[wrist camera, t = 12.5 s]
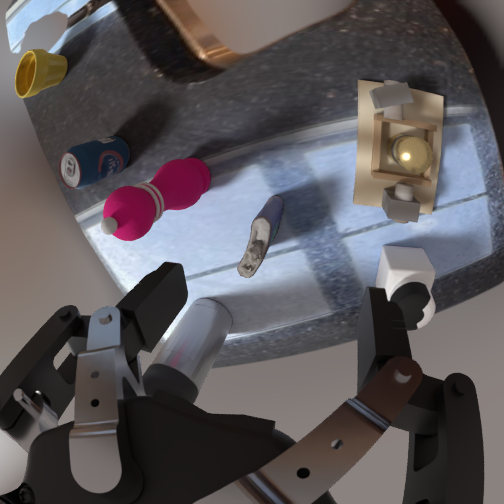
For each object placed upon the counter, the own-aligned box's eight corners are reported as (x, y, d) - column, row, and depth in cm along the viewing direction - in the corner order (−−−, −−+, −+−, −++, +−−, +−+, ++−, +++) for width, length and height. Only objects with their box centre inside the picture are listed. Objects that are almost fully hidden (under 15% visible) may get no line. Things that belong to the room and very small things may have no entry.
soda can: (128, 177, 43) (80, 199, 33) (103, 164, 44) (55, 183, 34) (136, 141, 40) (84, 156, 30) (109, 130, 40) (58, 143, 30)
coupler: (419, 154, 29) (439, 162, 23) (396, 169, 31) (411, 180, 25) (403, 128, 28) (420, 129, 22) (380, 143, 30) (392, 148, 24)
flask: (270, 192, 38) (250, 220, 29) (289, 199, 38) (275, 230, 29) (252, 244, 43) (230, 283, 34) (269, 251, 43) (251, 292, 34)
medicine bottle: (374, 283, 41) (382, 336, 30) (381, 244, 37) (396, 292, 27) (413, 286, 39) (430, 337, 29) (423, 247, 35) (448, 294, 25)
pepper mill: (217, 159, 38) (130, 204, 21) (210, 203, 42) (132, 271, 25) (175, 150, 39) (78, 187, 22) (171, 192, 43) (84, 248, 26)
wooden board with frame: (429, 213, 33) (442, 229, 28) (352, 203, 36) (356, 218, 31) (440, 96, 24) (458, 95, 19) (357, 80, 27) (363, 74, 22)
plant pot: (63, 98, 38) (27, 104, 30) (43, 85, 38) (10, 91, 30) (79, 53, 33) (41, 53, 25) (57, 45, 32) (23, 46, 24)
